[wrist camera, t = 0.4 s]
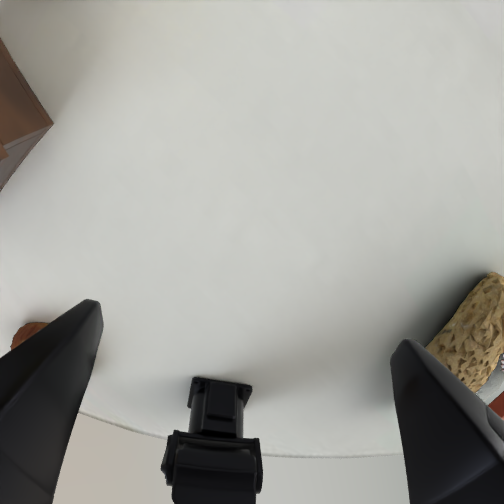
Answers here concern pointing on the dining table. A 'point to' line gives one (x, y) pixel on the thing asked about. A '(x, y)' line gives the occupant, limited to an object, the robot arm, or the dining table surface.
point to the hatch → (3, 155)
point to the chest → (18, 116)
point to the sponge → (474, 334)
